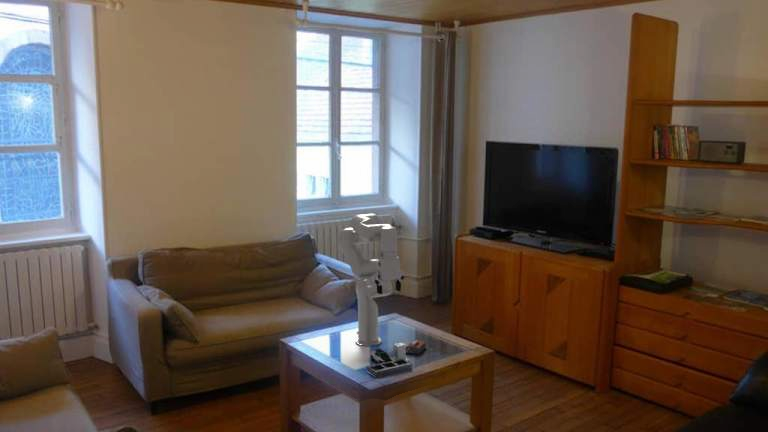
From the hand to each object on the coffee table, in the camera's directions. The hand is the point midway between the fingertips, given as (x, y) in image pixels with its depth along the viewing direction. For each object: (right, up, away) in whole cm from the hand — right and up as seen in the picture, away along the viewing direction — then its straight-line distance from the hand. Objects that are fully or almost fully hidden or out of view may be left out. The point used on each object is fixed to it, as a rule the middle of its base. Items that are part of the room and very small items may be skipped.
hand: (389, 292), depth 303 cm
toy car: (-3, -32, -3) cm, 32 cm away
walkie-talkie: (+10, -29, +10) cm, 32 cm away
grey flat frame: (0, -32, -12) cm, 35 cm away
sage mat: (+4, -31, 0) cm, 31 cm away
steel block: (+5, -30, -1) cm, 30 cm away
